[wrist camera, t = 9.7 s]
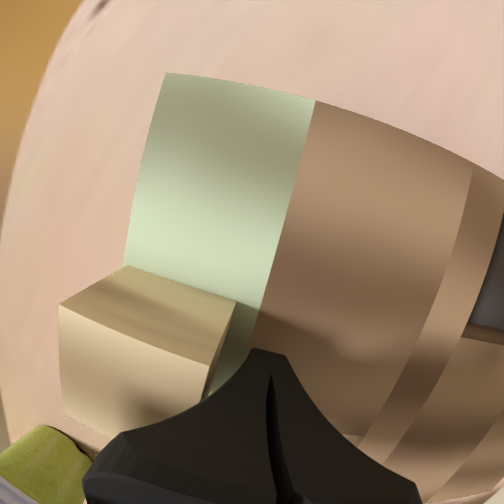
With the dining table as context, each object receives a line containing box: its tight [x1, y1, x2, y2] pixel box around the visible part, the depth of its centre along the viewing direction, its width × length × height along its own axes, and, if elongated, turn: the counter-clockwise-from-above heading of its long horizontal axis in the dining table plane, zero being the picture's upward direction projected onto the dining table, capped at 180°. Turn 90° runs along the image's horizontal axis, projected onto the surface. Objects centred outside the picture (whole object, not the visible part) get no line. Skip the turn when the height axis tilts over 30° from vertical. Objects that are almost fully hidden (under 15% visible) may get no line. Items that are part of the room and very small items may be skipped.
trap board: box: [123, 73, 504, 503], centre depth 12 cm, size 18×26×3 cm
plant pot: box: [0, 426, 92, 504], centre depth 14 cm, size 9×9×9 cm
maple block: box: [58, 265, 236, 439], centre depth 9 cm, size 4×4×4 cm
